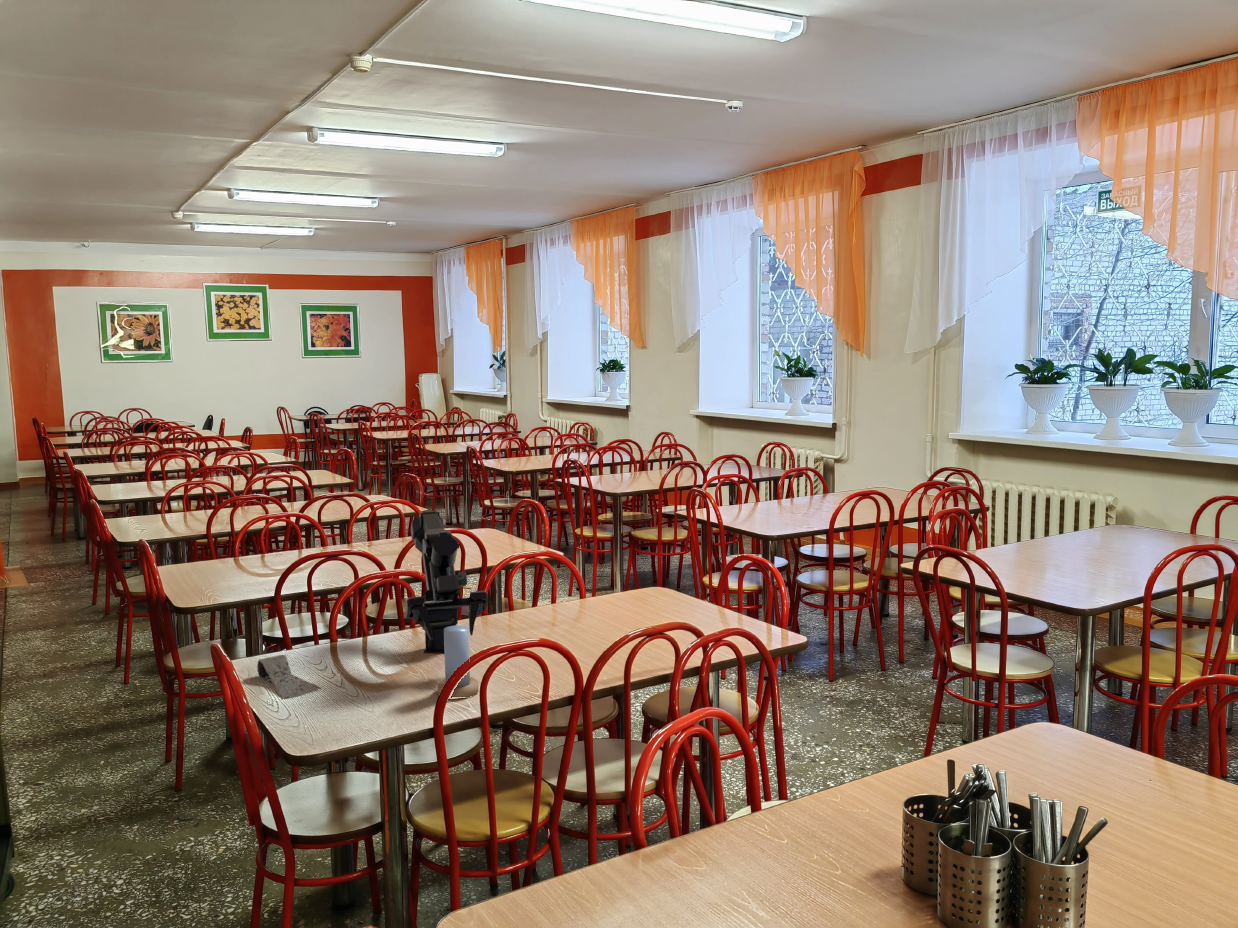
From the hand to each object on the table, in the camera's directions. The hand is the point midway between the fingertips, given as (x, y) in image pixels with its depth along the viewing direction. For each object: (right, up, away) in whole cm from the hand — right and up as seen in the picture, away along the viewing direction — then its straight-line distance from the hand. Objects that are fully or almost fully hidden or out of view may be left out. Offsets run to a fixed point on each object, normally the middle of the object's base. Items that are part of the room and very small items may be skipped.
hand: (451, 636), depth 215 cm
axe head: (-37, -12, 0) cm, 39 cm away
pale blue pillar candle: (+3, -9, -7) cm, 12 cm away
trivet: (+3, -11, -6) cm, 13 cm away
